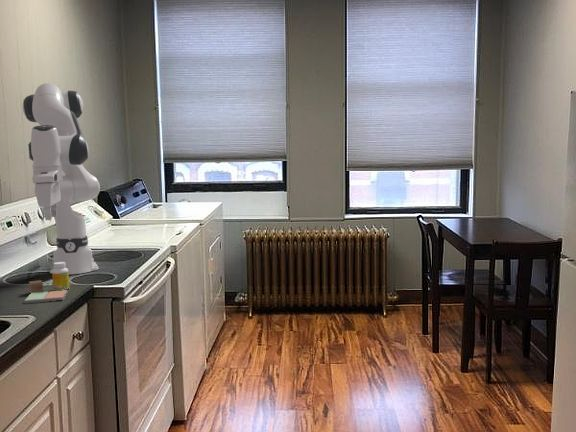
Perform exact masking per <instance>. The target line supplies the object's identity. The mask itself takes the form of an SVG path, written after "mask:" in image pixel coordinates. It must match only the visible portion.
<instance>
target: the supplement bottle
mask: <svg viewBox="0 0 576 432" xmlns="http://www.w3.org/2000/svg"><path fill="white" fill-rule="evenodd" d="M65 266H66V263H65V262H56V263H54V262H53V268H52V269H53V270H52V269H51V270H52V273H51V274H52V275H51V276H52V290H53V289H55V290H64V289H68V288H69V289H70V277H69V274H68V269H67V268H65ZM54 268H55V269H54Z"/></svg>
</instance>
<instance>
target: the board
mask: <svg viewBox="0 0 576 432" xmlns="http://www.w3.org/2000/svg"><path fill="white" fill-rule="evenodd" d="M67 293H69V290H62V291H54V290H51V291H43V292H36V293H31V294H29V295H28V296H27V297H26V299H24V300H23V304H24V305H25V304H36V303H50V302H49V301H52V302H57V301H56V300H62V301H64V300H65V298H66V297H67V295H68V294H67ZM66 294H67V295H66ZM65 296H66V297H65Z"/></svg>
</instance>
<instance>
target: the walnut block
mask: <svg viewBox="0 0 576 432" xmlns="http://www.w3.org/2000/svg"><path fill="white" fill-rule="evenodd" d="M28 285H29V293H36V292H44V286H43V281H42V279H41V280H33V281H28Z"/></svg>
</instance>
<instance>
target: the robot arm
mask: <svg viewBox="0 0 576 432" xmlns="http://www.w3.org/2000/svg"><path fill="white" fill-rule="evenodd" d="M83 110H84V101H83V98H82V96H81V95H80V93H79V92H78V91H76V90H75V91H74V90H68V91H66V90H64V91H63V90H61V89H60V88H59V86H57V85H56V84H54V83H50V82H48V83H47V82H46V83H42V84H41V85H39V86H37V88H36V89H35V92H34V94H29V95H26V97H25V98H23V102H22V112H23V114H24V116H25V118H26V119H27V121H30V122H31V123H37V124H38V125H35V126H33V127H32V128H31V132H30V133H31V136H30V142H29V143H28V154H29V155H28V156H29V157H28V158H29V160H31V161H32V162H33V163H32V177H31V178H32V183H33V184H35V185H34V194H35V195H34V196H35V197H36V201H37V205H38V207H39V208H42V210H43V213H44V219H45V221H51V220H52V219H54V222H55V228H56V236H57V237H56V240H55V244H56V247H57V248H56V250H54V252H53V264H54V263H56V262H65V263H66V266H65V268H67V269H68V274H69V275H78V274H79V275H80V274H85V273H89V272H93V271H99V270H98V269H99V266H98V263H96V261H95V258H94V257H93V250H92V249H91V248H90V247H89V238H88V236H87V229H86V219H85V216H84V215H82V213H80V212H78V211H76V210H73V208H72V206H71V203H79V202H86V201H90V200H94V199H96V198H98V196H99V194H100V190H101V186H100V185H101V184H100V182H99V180H98V178H97V177H96V176H95V175H92V174H91V173H90V172H89V171H88V170H87V169H86V168H85V167H84V165H83V164H84V163H85V162H86V161H88V158H89V153H90V152H89V151H90V150H89V145H88V142H87V140H86V138H85V136H84V135H83V132H82V129H81V126H80V123H79V121H78V119H79V118H80V117H81V115H82V114H83ZM63 173H64V175H63ZM53 269H55V268H54V267H53V268H52V269H51V270H49V274H52V270H53Z"/></svg>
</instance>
